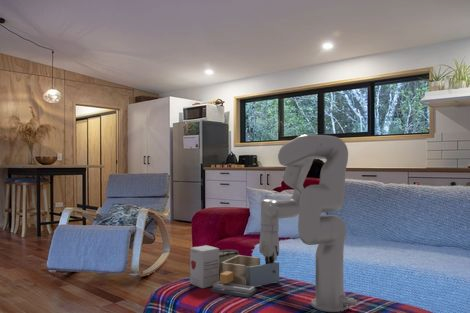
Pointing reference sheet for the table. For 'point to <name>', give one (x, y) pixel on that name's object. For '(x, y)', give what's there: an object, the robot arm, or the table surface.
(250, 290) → the fader board
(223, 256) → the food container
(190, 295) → the table surface
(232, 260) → the tan open box
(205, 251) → the supplement box
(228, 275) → the fader knob
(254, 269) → the door
